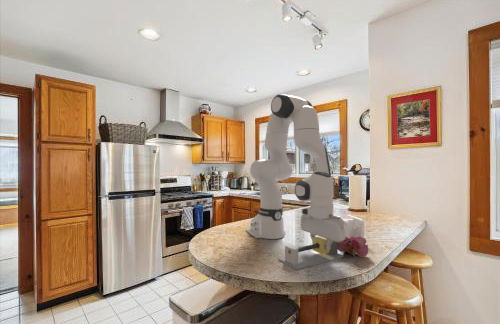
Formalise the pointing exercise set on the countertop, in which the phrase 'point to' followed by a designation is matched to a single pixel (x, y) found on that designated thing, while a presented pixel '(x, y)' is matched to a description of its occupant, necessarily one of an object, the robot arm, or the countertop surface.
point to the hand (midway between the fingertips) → (321, 247)
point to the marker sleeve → (320, 244)
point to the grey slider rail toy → (308, 256)
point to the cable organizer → (353, 226)
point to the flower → (354, 246)
